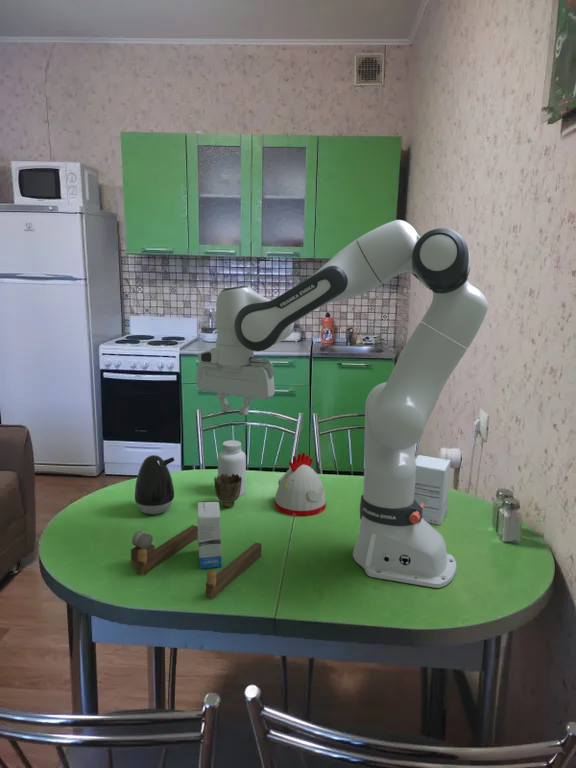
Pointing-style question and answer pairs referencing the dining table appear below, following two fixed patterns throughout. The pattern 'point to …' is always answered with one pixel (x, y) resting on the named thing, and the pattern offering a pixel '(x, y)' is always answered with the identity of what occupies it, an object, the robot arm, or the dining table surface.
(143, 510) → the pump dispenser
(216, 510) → the ink box
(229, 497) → the cup
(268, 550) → the dining table surface
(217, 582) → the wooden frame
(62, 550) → the dining table surface
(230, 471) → the pill bottle
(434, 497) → the supplement box
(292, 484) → the kitchen timer
